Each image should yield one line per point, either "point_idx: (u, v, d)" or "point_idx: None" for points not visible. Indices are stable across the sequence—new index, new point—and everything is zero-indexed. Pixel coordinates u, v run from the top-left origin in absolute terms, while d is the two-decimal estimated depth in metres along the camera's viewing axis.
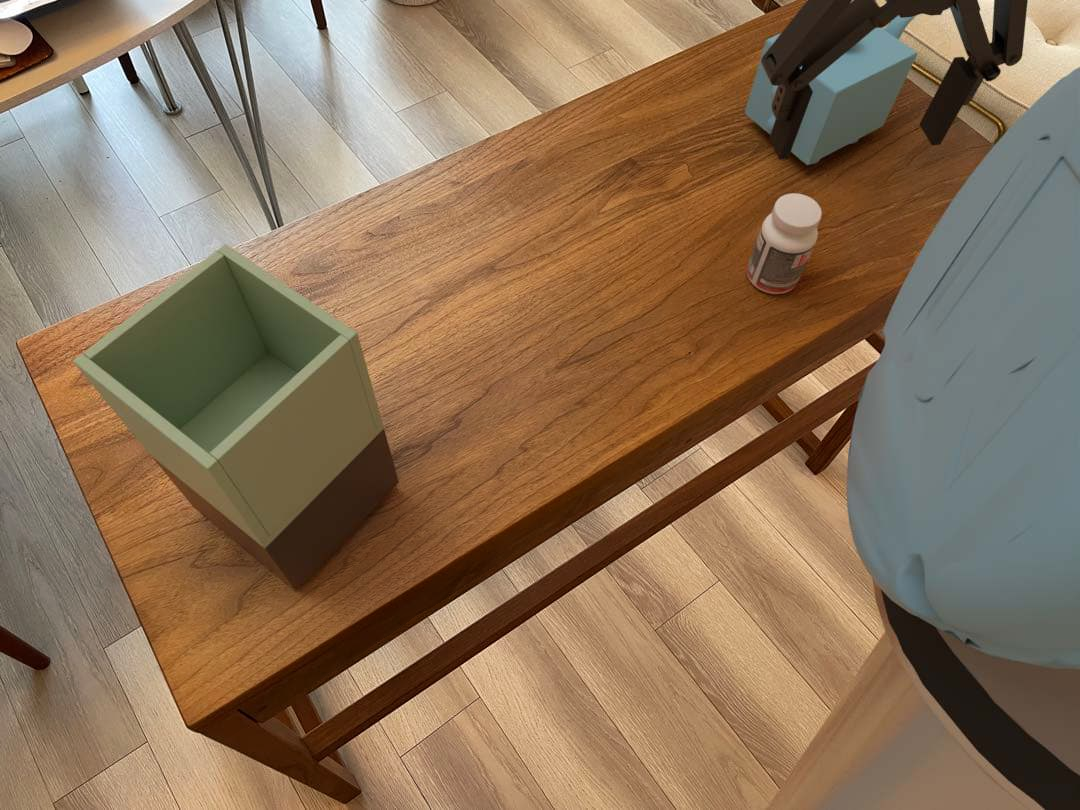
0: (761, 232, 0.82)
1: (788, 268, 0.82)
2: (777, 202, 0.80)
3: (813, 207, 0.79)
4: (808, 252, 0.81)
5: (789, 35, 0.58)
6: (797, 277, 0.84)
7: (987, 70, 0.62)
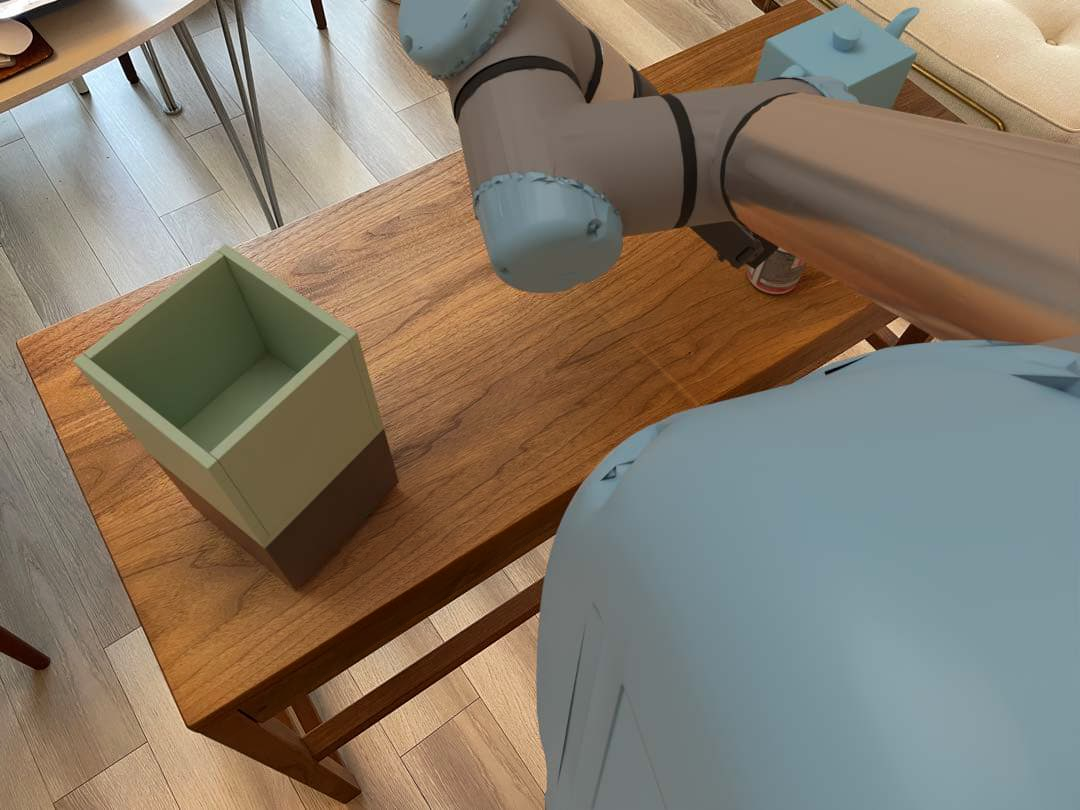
0: None
1: (788, 268, 0.82)
2: None
3: None
4: None
5: (724, 241, 0.60)
6: (797, 277, 0.84)
7: None
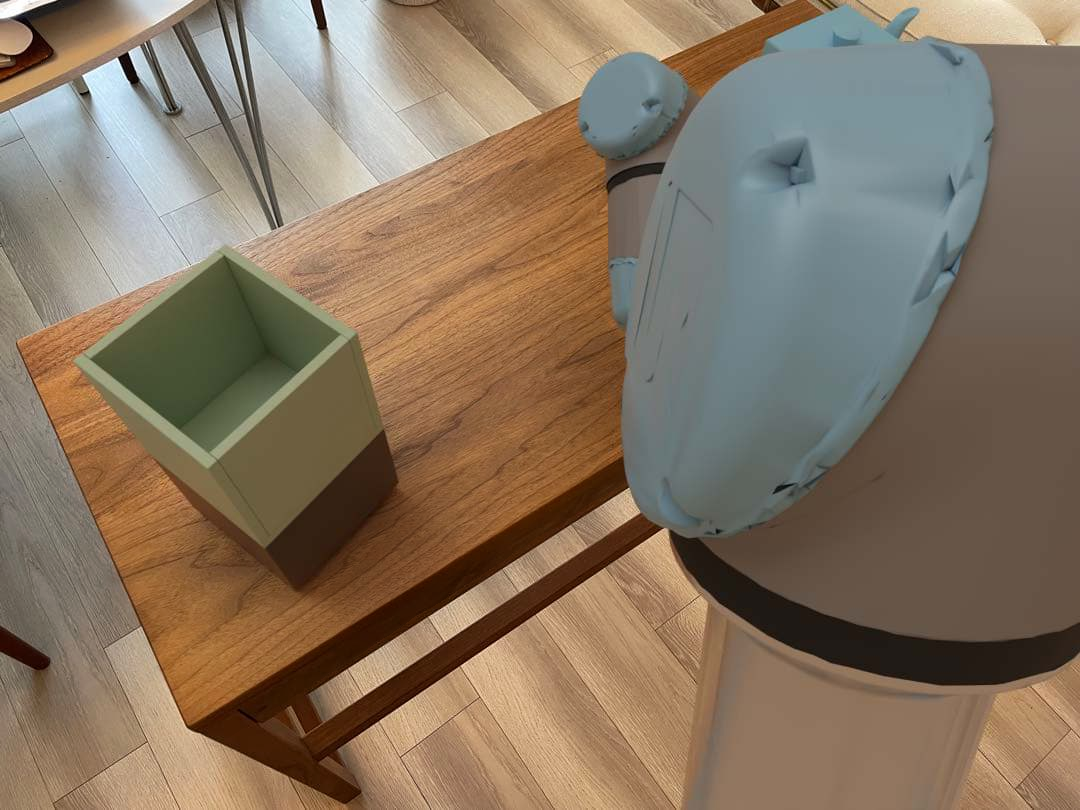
0: None
1: None
2: None
3: None
4: None
5: None
6: None
7: None
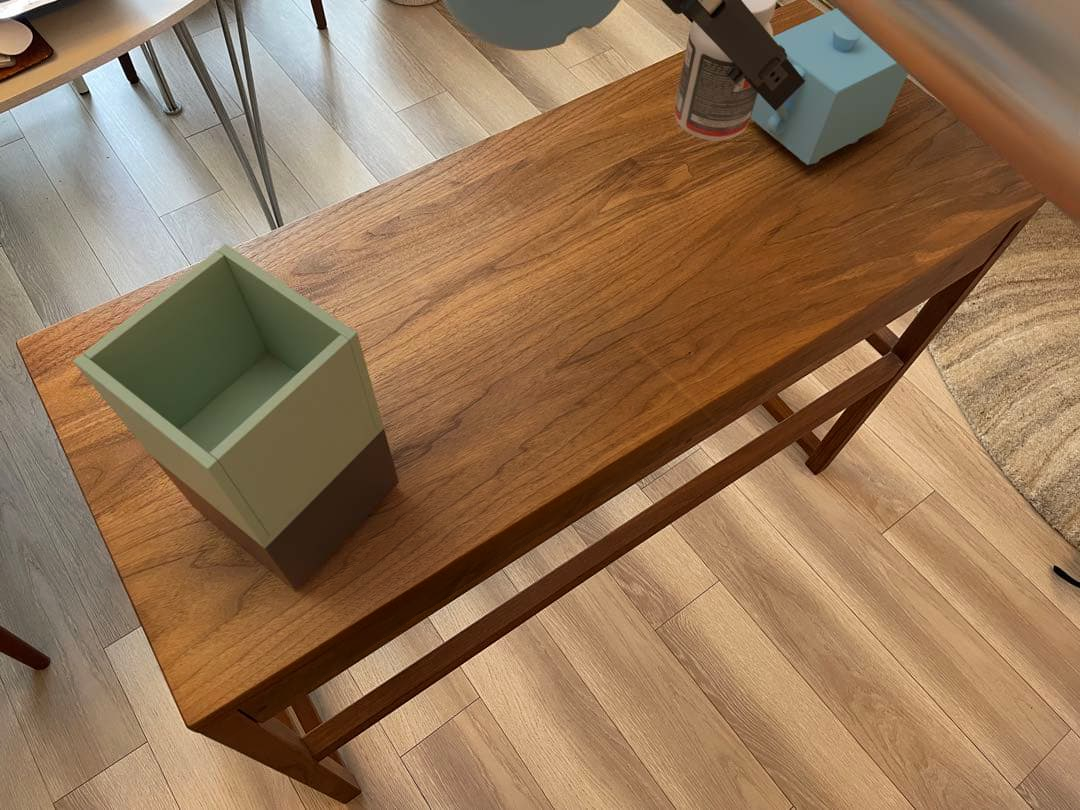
0: (689, 36, 0.55)
1: (730, 91, 0.55)
2: None
3: None
4: None
5: (749, 54, 0.48)
6: (745, 112, 0.57)
7: None
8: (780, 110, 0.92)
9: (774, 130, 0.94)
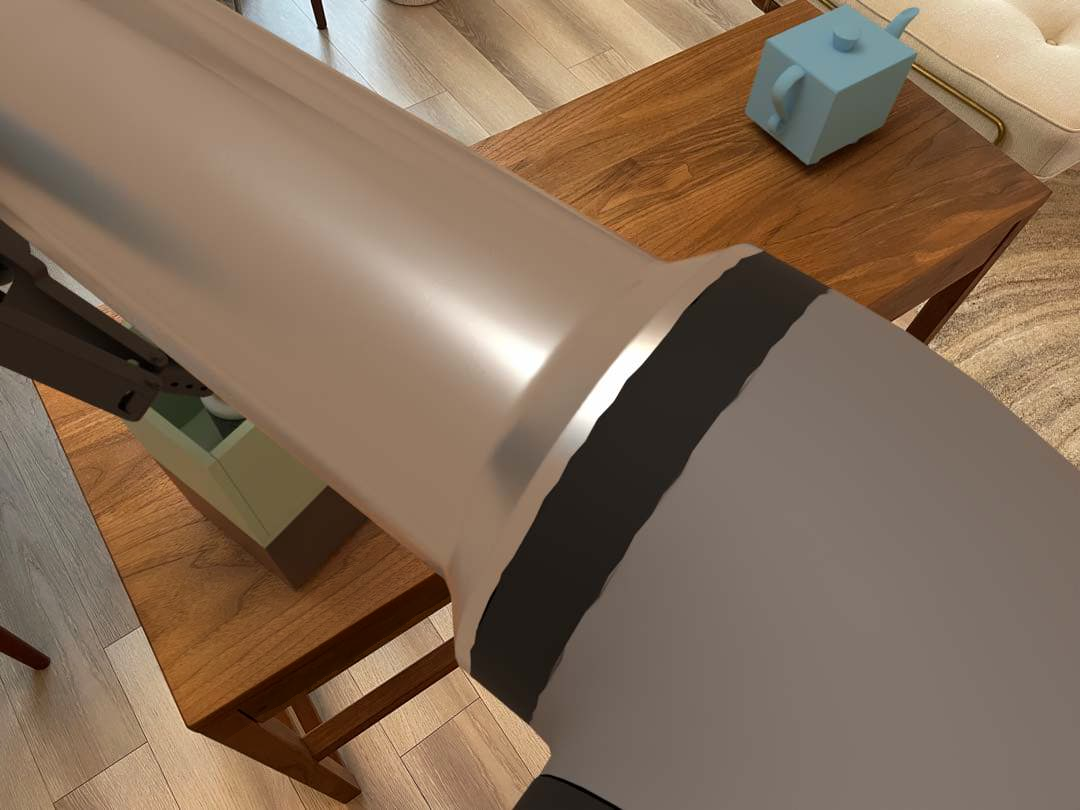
0: None
1: None
2: None
3: None
4: None
5: (82, 386, 0.38)
6: None
7: None
8: (780, 110, 0.92)
9: (774, 130, 0.94)
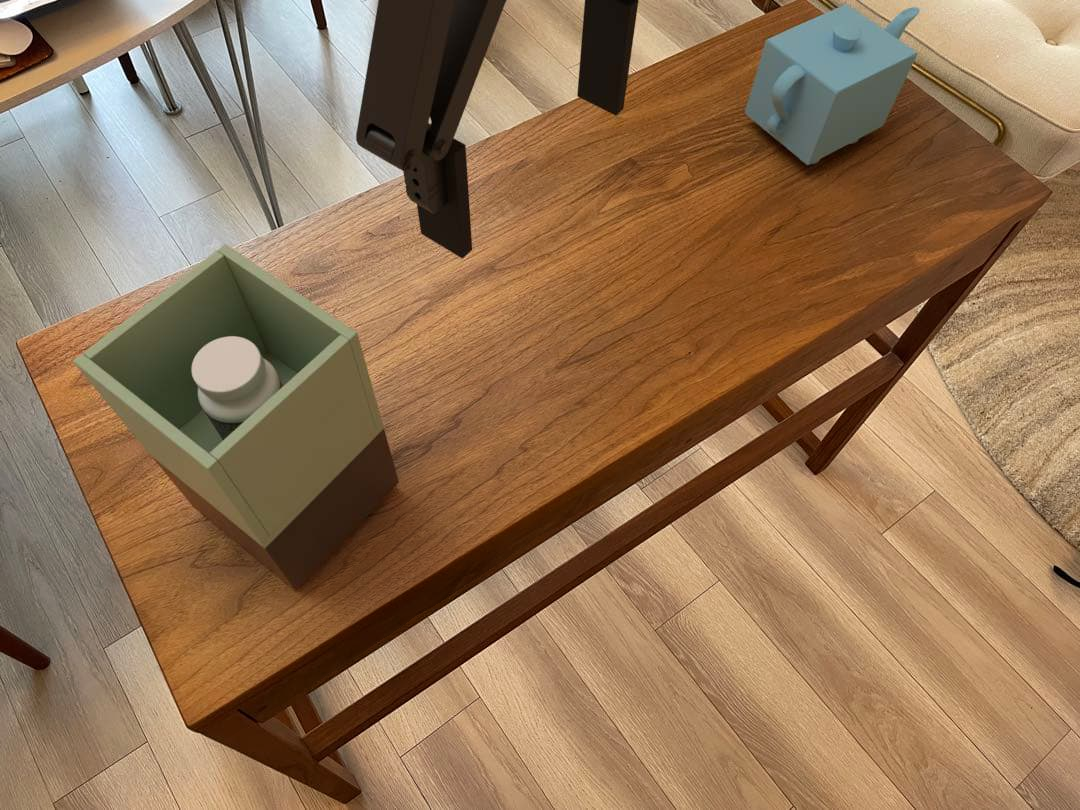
0: None
1: None
2: (199, 352, 0.55)
3: (249, 359, 0.55)
4: None
5: (384, 80, 0.30)
6: None
7: None
8: (780, 110, 0.92)
9: (774, 130, 0.94)
